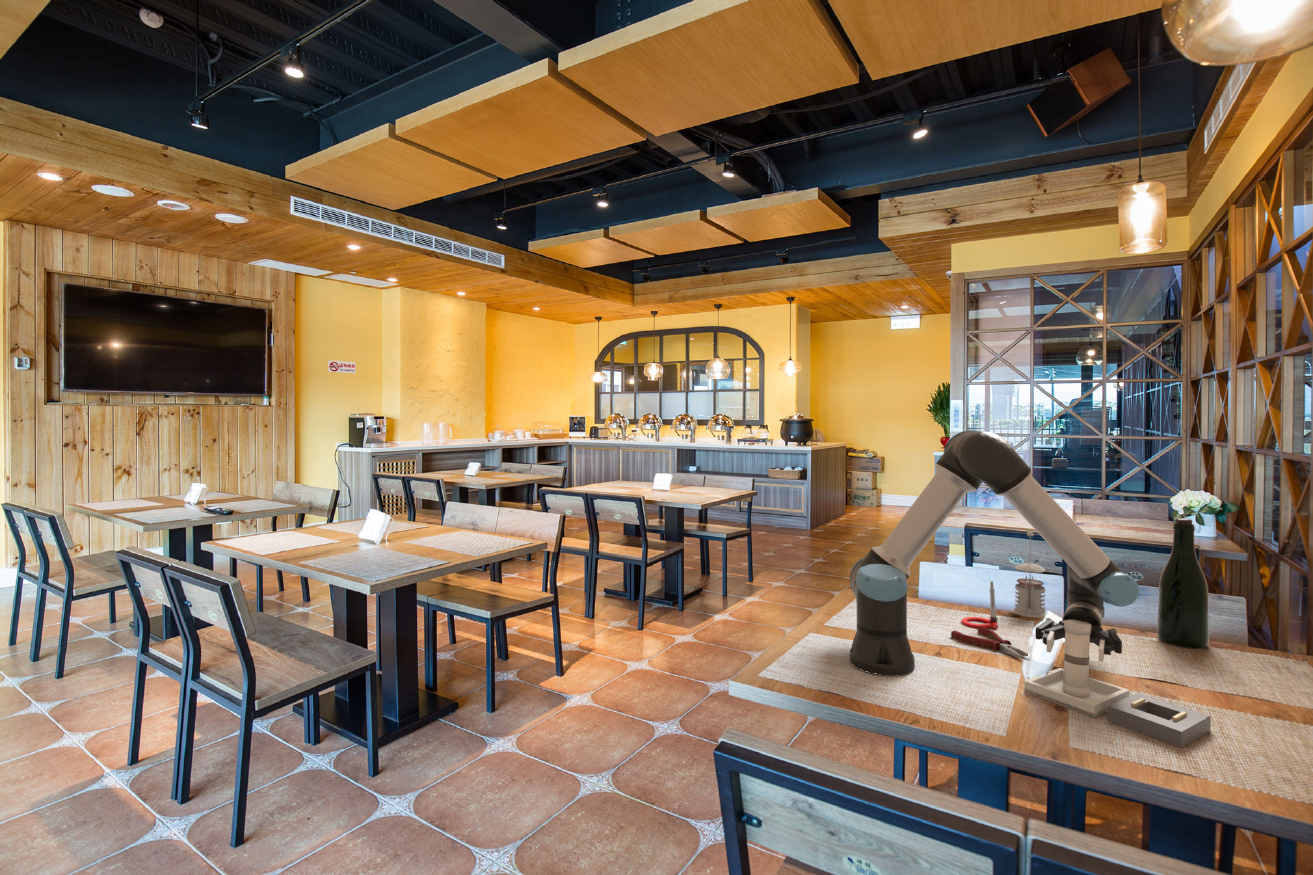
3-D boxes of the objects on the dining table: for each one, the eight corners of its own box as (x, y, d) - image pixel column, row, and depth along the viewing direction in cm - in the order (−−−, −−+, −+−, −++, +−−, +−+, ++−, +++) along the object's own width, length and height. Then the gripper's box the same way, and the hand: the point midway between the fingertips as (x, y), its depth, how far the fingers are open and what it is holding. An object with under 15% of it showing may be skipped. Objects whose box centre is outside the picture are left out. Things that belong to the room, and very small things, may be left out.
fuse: (1081, 698, 133) (1083, 627, 133) (1057, 690, 137) (1059, 621, 137) (1093, 694, 135) (1095, 624, 135) (1070, 686, 139) (1071, 618, 139)
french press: (1048, 610, 195) (1049, 530, 195) (1048, 621, 185) (1048, 536, 185) (1012, 606, 201) (1012, 528, 200) (1010, 616, 191) (1010, 534, 190)
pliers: (1010, 665, 155) (1010, 654, 154) (948, 638, 174) (948, 629, 174) (1045, 659, 158) (1045, 649, 158) (981, 634, 177) (981, 624, 177)
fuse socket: (1181, 747, 115) (1181, 728, 115) (1107, 720, 125) (1108, 702, 125) (1210, 730, 121) (1210, 712, 120) (1137, 706, 131) (1138, 689, 131)
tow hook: (962, 628, 182) (998, 630, 178) (960, 583, 182) (996, 585, 178) (960, 619, 190) (995, 621, 186) (958, 577, 190) (993, 578, 186)
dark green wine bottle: (1191, 636, 171) (1193, 515, 170) (1219, 650, 161) (1220, 522, 160) (1148, 634, 173) (1149, 515, 172) (1172, 648, 163) (1174, 521, 162)
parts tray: (1094, 717, 126) (1094, 705, 126) (1024, 691, 139) (1024, 680, 138) (1129, 701, 133) (1129, 689, 133) (1059, 678, 145) (1059, 667, 145)
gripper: (1138, 646, 143) (1137, 680, 125) (1030, 628, 156) (1016, 657, 138) (1138, 614, 143) (1138, 643, 125) (1030, 598, 156) (1016, 623, 138)
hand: (1074, 650), depth 132 cm, fingers open, 8 cm apart
